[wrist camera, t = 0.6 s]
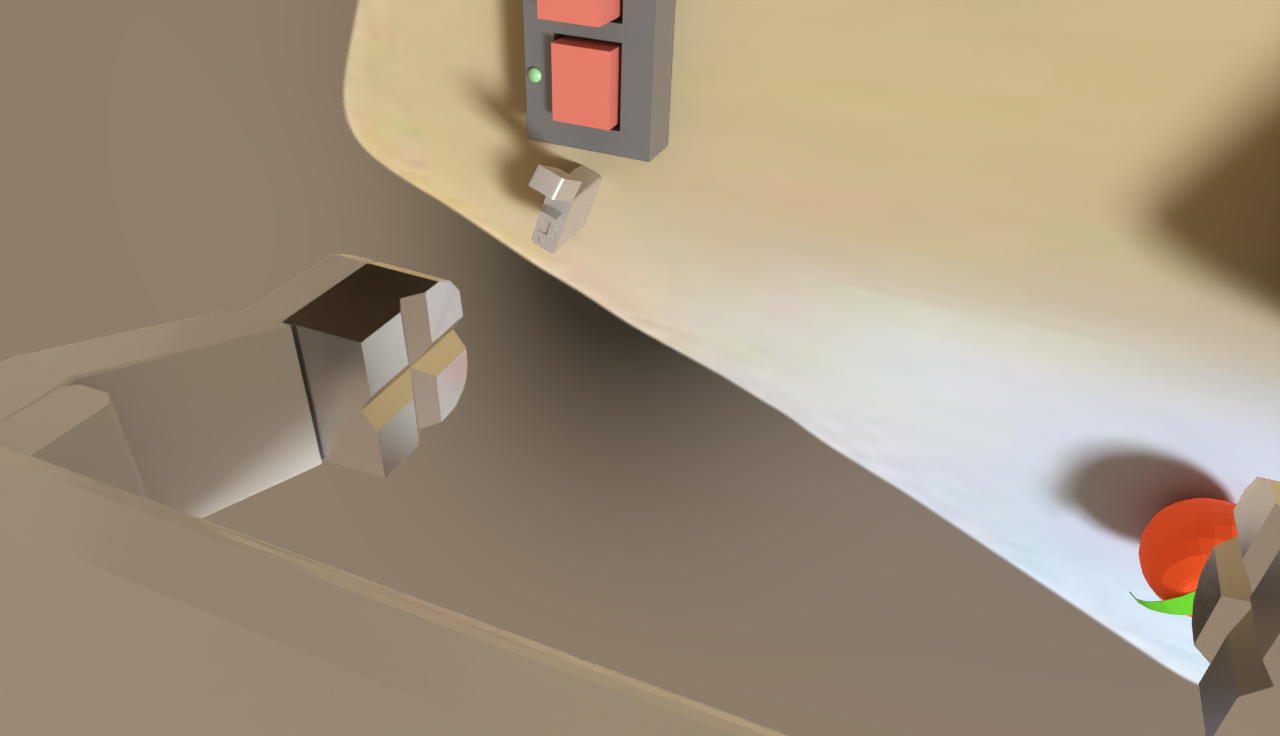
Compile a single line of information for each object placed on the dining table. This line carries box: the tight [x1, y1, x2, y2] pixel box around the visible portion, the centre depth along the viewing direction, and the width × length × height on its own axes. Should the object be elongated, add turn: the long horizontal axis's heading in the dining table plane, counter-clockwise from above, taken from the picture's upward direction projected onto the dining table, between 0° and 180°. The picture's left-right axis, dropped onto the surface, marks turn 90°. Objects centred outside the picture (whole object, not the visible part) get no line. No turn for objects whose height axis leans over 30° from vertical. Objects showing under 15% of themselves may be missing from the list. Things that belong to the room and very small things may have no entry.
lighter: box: [528, 164, 601, 253], centre depth 55 cm, size 7×2×8 cm, turn 158°
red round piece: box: [1129, 498, 1238, 617], centre depth 52 cm, size 8×7×7 cm
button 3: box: [551, 35, 622, 130], centre depth 52 cm, size 4×4×3 cm
